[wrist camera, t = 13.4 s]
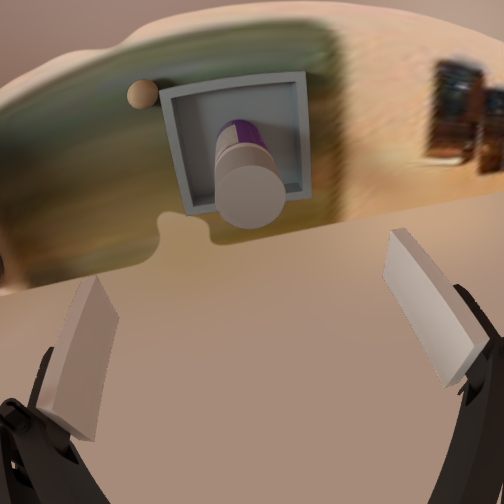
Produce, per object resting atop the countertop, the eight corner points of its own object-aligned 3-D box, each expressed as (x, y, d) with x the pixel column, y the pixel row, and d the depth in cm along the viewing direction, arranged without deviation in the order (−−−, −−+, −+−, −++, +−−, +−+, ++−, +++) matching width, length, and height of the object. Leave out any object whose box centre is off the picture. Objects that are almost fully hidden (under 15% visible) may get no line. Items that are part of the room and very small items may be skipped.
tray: (188, 203, 35) (186, 216, 33) (164, 88, 27) (158, 90, 25) (304, 187, 36) (311, 198, 33) (297, 70, 27) (305, 71, 25)
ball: (135, 109, 28) (126, 115, 25) (129, 82, 26) (120, 85, 24) (163, 103, 28) (157, 107, 25) (158, 75, 26) (151, 76, 24)
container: (269, 138, 31) (303, 196, 19) (239, 168, 33) (252, 243, 21) (237, 109, 29) (249, 147, 17) (207, 141, 31) (197, 202, 18)
